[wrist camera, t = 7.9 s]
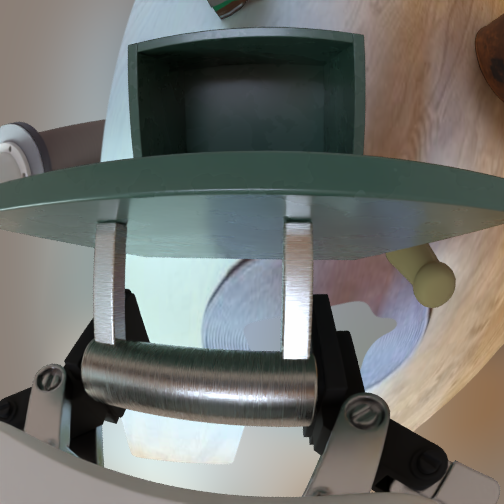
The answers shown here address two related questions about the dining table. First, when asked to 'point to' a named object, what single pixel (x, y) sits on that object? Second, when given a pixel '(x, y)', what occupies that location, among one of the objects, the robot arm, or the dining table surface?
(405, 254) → the olive pawn figure
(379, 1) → the dining table surface
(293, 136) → the waste bin
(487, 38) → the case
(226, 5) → the food container
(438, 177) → the bin lid
